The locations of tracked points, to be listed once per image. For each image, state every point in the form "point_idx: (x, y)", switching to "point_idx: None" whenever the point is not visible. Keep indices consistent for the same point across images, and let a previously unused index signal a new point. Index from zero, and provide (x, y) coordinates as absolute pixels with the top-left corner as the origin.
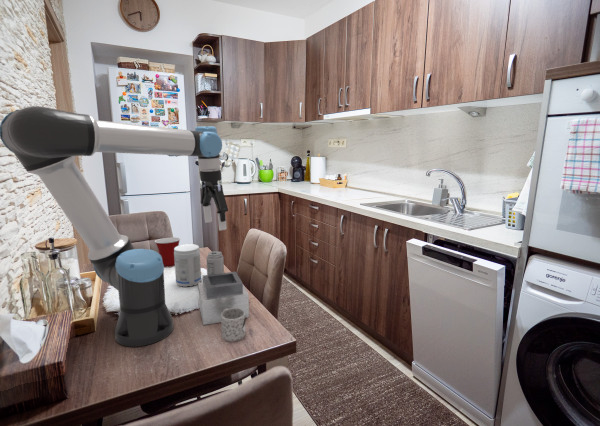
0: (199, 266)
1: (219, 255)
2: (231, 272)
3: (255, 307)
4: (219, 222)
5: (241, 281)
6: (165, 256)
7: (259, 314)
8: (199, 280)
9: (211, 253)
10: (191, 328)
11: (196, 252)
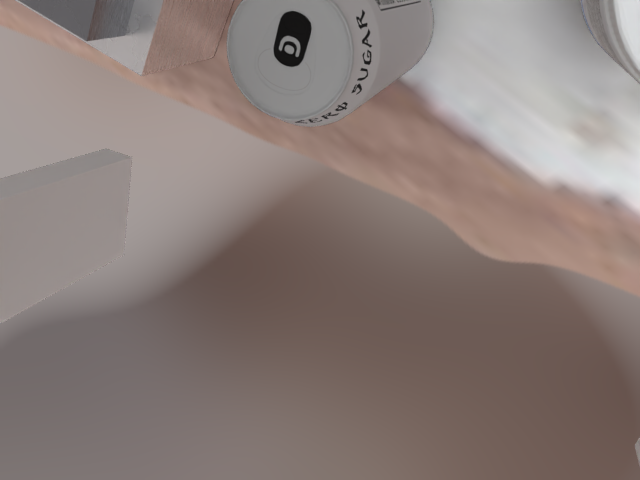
0: (601, 40)
1: (234, 59)
2: (88, 7)
3: None
4: (10, 184)
5: (86, 42)
6: None
7: None
8: (585, 20)
9: (308, 25)
10: None
11: (604, 11)
